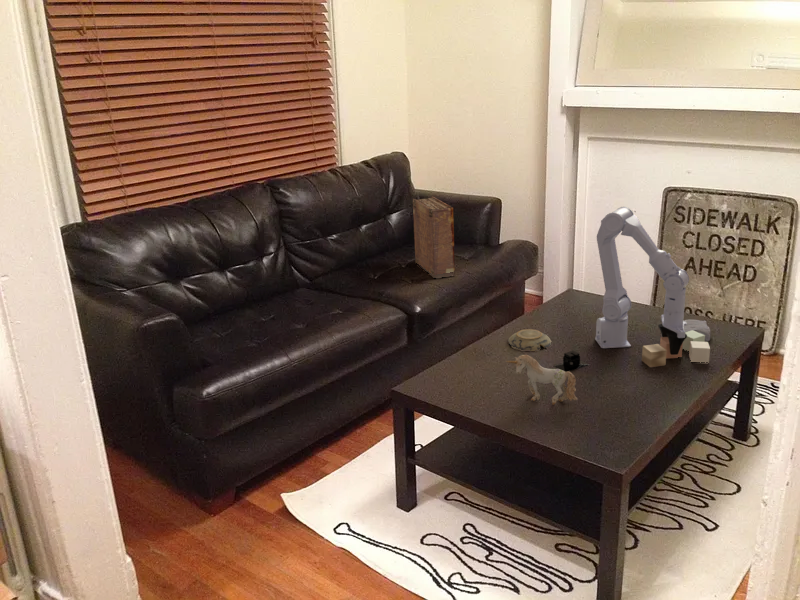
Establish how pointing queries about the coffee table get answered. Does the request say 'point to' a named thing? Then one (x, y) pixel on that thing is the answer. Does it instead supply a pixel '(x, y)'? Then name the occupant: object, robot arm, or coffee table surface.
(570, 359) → the black boxy device
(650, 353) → the maple cube
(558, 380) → the unicorn figurine
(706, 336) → the stone block
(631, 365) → the coffee table surface
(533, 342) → the decorative bowl
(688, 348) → the sage cube
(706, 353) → the cream cube
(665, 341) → the terracotta cube
